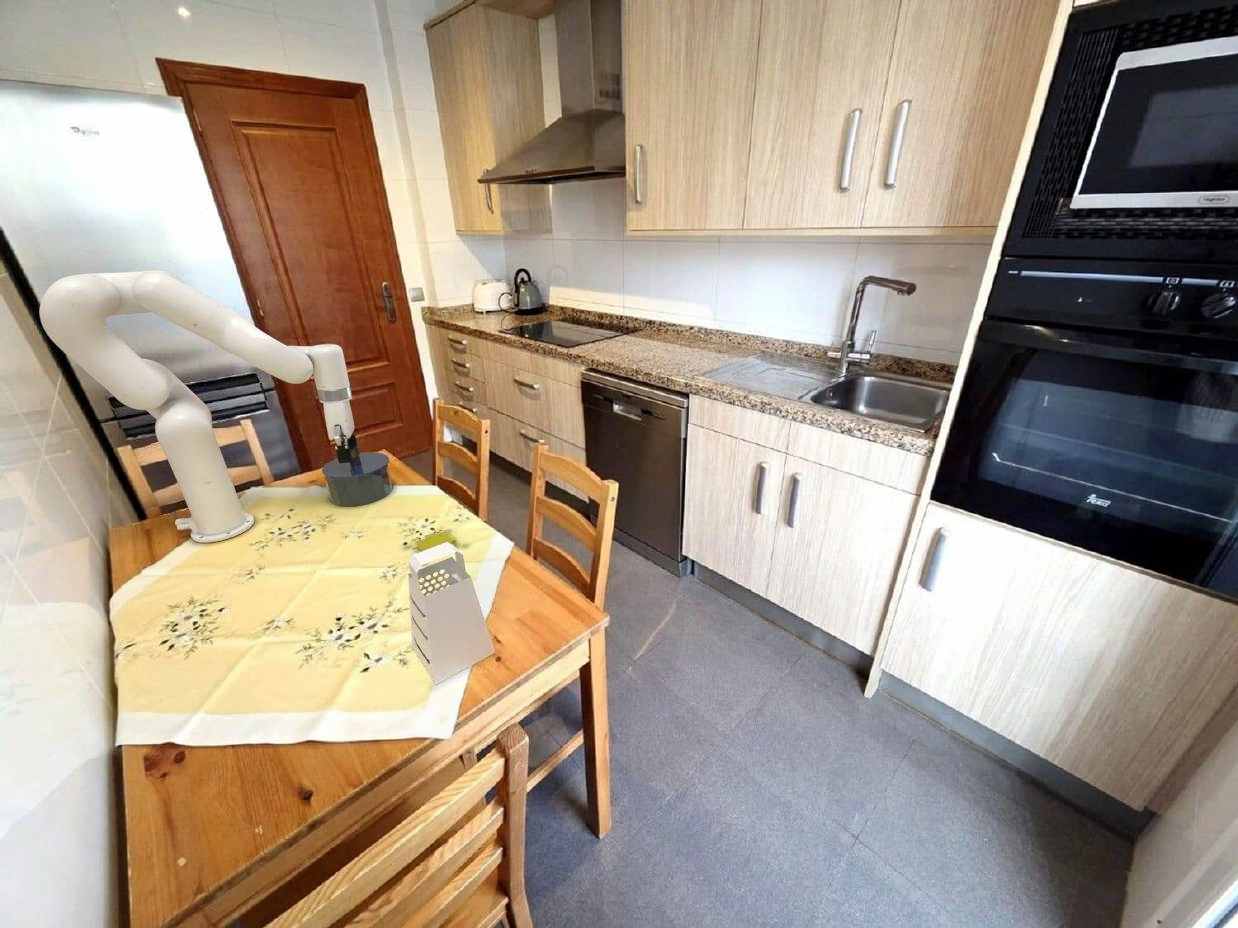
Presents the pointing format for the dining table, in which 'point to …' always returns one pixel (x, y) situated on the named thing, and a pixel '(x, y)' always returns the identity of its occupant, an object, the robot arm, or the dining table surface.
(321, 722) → the dining table surface
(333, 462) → the lid
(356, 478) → the pot
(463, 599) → the grater
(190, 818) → the dining table surface
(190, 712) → the dining table surface
